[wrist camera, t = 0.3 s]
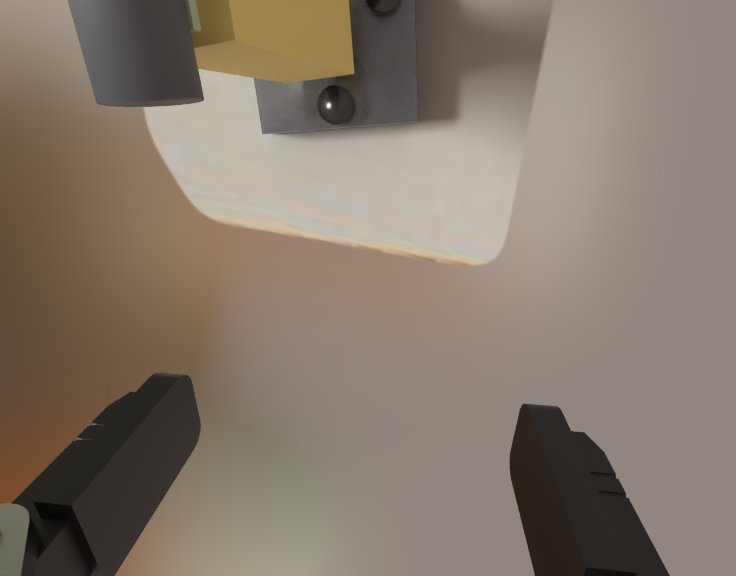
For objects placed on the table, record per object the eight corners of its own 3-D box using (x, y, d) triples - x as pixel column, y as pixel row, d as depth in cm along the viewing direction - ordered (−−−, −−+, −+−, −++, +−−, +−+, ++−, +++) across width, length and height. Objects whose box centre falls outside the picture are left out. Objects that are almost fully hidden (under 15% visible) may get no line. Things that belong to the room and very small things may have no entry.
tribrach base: (248, -40, 30) (226, -66, 26) (410, -58, 29) (413, -89, 25) (273, 133, 34) (257, 133, 30) (416, 122, 33) (419, 120, 29)
